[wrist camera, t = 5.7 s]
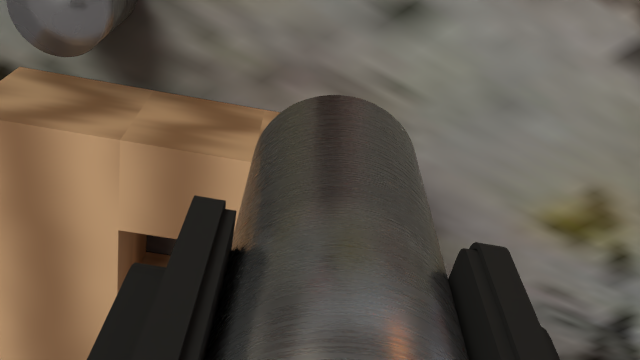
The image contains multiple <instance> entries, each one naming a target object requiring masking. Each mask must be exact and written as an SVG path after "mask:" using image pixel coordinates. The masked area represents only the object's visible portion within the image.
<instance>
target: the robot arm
mask: <svg viewBox="0 0 640 360" xmlns="http://www.w3.org/2000/svg"><path fill="white" fill-rule="evenodd" d="M225 208H226V200H220V199H214V198H208V197H202V196H196V195H195V196H194V197H193V199H192V202H191V204H190V207H189V210H188V212H187V215H186V217H185V220H184V223H183V225H182V228H181V230H180V233H179V236H178V238H177V241H176V243H175V246H174V249H173V251H172V254H171V256H170V259H169V262H168V264H167V267H160V266H154V265H148V264H141V263H134V264H132V265H131V267H130V269H129V271H128V273H127V275H126V277H125V279H124V281H123V283H122V285H121V288H120V290H119V292H118V294H117V296H116V298H115V300H114V302H113V305H112V307H111V309H110V311H109V313H108V315H107V317H106V320H105V322H104V324H103V326H102V328H101V330H100V332H99V334H98V337H97V339H96V341H95V343H94V345H93V347H92V349H91V351H90V354H89V356H88V358H87V360H205V356H206V352H207V348H208V344H209V339H210V335H211V331H212V327H213V323H214V319H215V315H216V311H217V307H218V303H219V299H220V294H221V290H222V286H223V282H224V278H225V274H226V270H227V266H228V262H229V258H230V253H231V249H232V242H233V234H234V227H235V220H236V210H230V209H225ZM448 282H449V286H450V289H451V293H452V297H453V301H454V305H455V309H456V313H457V316H458V320H459V324H460V328H461V332H462V336H463V340H464V343H465V347H466V351H467V355H468V359H469V360H560V359H559V356H558V354H557V352H556V349H555V347H554V345H553V342H552V340H551V338H550V336H549V334H548V333H547V331H546V330H545V329H544V328H542V327H541V326H540V323H539V321H538V319H537V316H536V314H535V312H534V309H533V307H532V305H531V302H530V300H529V297H528V295H527V293H526V290H525V288H524V286H523V283H522V281H521V279H520V276H519V274H518V271H517V269H516V267H515V264H514V262H513V260H512V257H511V255H510V252H509V251H508V249H507V248H505V247H500V246H495V245H489V244H483V243H477V242H476V243H473V244H472V245H471V246H470V248H469V249H464V248H463V249H461V250H460V252H459V254H458V256H457V258H456V261H455V264H454V266H453V269H452V271H451V274H450V276H449V279H448Z"/></svg>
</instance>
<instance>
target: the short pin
mask: <svg viewBox="0 0 640 360" xmlns="http://www.w3.org/2000/svg"><path fill="white" fill-rule="evenodd" d="M136 3H137V0H7V7H8V11H9V14H10V17H11V19H12V21H13V23H14V25H15V27H16V28H17V30H18V31H19V32H20V34H21V35H22V36H23V37H24V38H25V39H26V40H27V41H28V42H29V43H31V44H32V45H33V46H35V47H36V48H38V49H39V50H41V51H43V52H45V53H48V54H51V55H55V56H59V57H74V56H79V55H82V54H84V53H86V52H88V51H90V50H91V49H92V48H93V47H94V46H96V45H97V44H98V43H99V42H100V41H101V40H102V39H103V38H105V37H106V36H107V35H108V34H109V33H110V32H111V31H112V30H113V29H115V28H116V27H117V26H118V25H119V24H120V23H121V22H122V21H123V20H125V19H126V18H127V17H128V16H129V15H130V14H131V12H132V11H133V9H134V8H135V5H136Z"/></svg>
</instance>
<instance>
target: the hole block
mask: <svg viewBox="0 0 640 360" xmlns="http://www.w3.org/2000/svg"><path fill="white" fill-rule="evenodd" d="M278 114H280V113H279V112H274V111H268V110H262V109H257V108H251V107H245V106H240V105H234V104H228V103H223V102H217V101H211V100H205V99H200V98H194V97H188V96H183V95H177V94H171V93H166V92H160V91H154V90H149V89H143V88H137V87H132V86H126V85H120V84H114V83H109V82H103V81H97V80H92V79H86V78H80V77H75V76H69V75H63V74H58V73H52V72H46V71H40V70H35V69H29V68H23V67H19V68H17V69H16V70H15V71H13V72H12V73H11V74H9V75H8V76H7V77H5V78H4V79H2V80H1V81H0V360H87V358H88V356H89V354H90V351H91V349H92V347H93V345H94V343H95V341H96V339H97V337H98V334H99V332H100V330H101V328H102V326H103V324H104V322H105V320H106V317H107V315H108V313H109V311H110V309H111V307H112V305H113V302H114V300H115V298H116V296H117V294H118V292H119V290H120V288H121V285H122V283H123V281H124V279H125V277H126V275H127V273H128V271H129V269H130V267H131V265H132V264H134V263H141V264H148V265H154V266H160V267H167V264H168V262H169V259H170V255H164V254H157V253H151V252H146V244H147V235H153V236H159V237H166V238H172V239H177V238H178V236H179V233H180V230H181V228H182V225H183V223H184V220H185V217H186V215H187V212H188V210H189V207H190V204H191V202H192V199H193V197H194V196H195V195H196V196H202V197H208V198H214V199H220V200H226V208H225V209H230V210H236V220H235V226H236V222H237V218H238V214H239V210H240V206H241V202H242V198H243V194H244V190H245V186H246V182H247V178H248V174H249V170H250V166H251V162H252V158H253V154H254V150H255V147H256V144H257V142H258V139H259V137H260V136H261V134H262V132H263V130H264V129H265V128H266V127H267V125H268V124H269V123H270V122H271V121H272V120H273V119H274V118H275V117H276V116H277V115H278ZM234 230H235V227H234Z"/></svg>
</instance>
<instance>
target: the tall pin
mask: <svg viewBox="0 0 640 360" xmlns="http://www.w3.org/2000/svg"><path fill="white" fill-rule="evenodd" d="M205 360H469V359H468V355H467V351H466V347H465V343H464V340H463V336H462V332H461V328H460V324H459V320H458V316H457V313H456V309H455V305H454V301H453V297H452V293H451V289H450V286H449V282H448V278H447V274H446V270H445V266H444V262H443V258H442V255H441V251H440V247H439V243H438V239H437V235H436V231H435V228H434V224H433V220H432V216H431V212H430V208H429V204H428V201H427V197H426V193H425V189H424V185H423V181H422V177H421V174H420V170H419V166H418V162H417V158H416V154H415V150H414V147H413V145H412V142H411V139H410V138H409V136H408V134H407V132H406V131H405V129H404V128H403V127H402V125H401V124H400V123H399V122H398V121H397V120H396V119H395V118H394V117H393V116H392V115H391V114H389V113H388V112H387V111H385V110H384V109H382V108H381V107H379V106H377V105H375V104H373V103H371V102H368V101H366V100H363V99H359V98H355V97H350V96H342V95H327V96H319V97H314V98H310V99H306V100H304V101H301V102H298V103H296V104H294V105H292V106H290V107H288V108H287V109H285V110H284V111H282V112H281V113H280V114H278V115H277V116H276V117H275V118H274V119H273V120H272V121H271V122H270V123H269V124H268V125H267V127H266V128H265V129H264V130H263V132H262V134H261V136H260V137H259V139H258V142H257V144H256V147H255V150H254V154H253V158H252V162H251V166H250V170H249V174H248V178H247V182H246V186H245V190H244V194H243V198H242V202H241V206H240V210H239V214H238V218H237V222H236V226H235V230H234V234H233V242H232V249H231V253H230V258H229V262H228V266H227V270H226V274H225V278H224V282H223V286H222V290H221V294H220V299H219V303H218V307H217V311H216V315H215V319H214V323H213V327H212V331H211V335H210V339H209V344H208V348H207V352H206V356H205Z"/></svg>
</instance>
